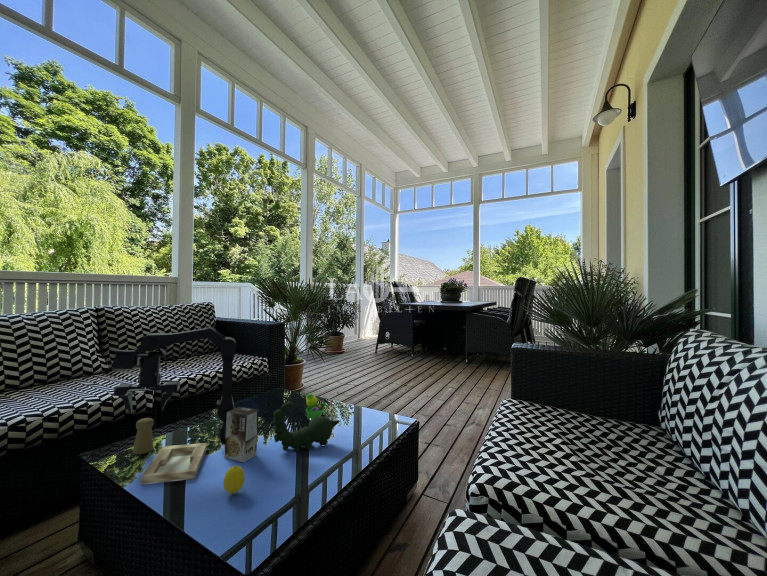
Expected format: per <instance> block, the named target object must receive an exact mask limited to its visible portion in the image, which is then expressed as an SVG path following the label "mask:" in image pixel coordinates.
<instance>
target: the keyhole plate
mask: <svg viewBox="0 0 767 576" xmlns="http://www.w3.org/2000/svg"><path fill="white" fill-rule="evenodd" d="M207 449H208V442H202V443H189V444H187V443H185V444H179V445H178V444H177V445H164V446H162V447H161V448H160V450H159V451H158V453H156V455H155V457H154V458H153V460H152V461H151V462H150V463H149V465H148V467H147V468H146V469H145V471H144V472H143V473H142V475H141V477H140V485H141V486H142V485H151V484H152V485H153V484H160V483H162V484H163V483H169V482H177V481H178V482H179V481H186V480H195V478H196V477H197V474H198V472H199V469H200V467H201V465H202V462H203V460H204V457H205V455H206V452H207Z"/></svg>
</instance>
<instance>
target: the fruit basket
mask: <svg viewBox="0 0 767 576" xmlns="http://www.w3.org/2000/svg"><path fill="white" fill-rule="evenodd" d="M305 399H306V400H305V401H306V402H305V403H306V406H307V407H306V409H305V413H306V417H307V419H308V418H311V419H314V418H316V417H319V416H321V415H322V413H323V414H324V412H325V409H326V405H327V404H326V403H325V402H324V403H323V402H320V403H319V402H318V401H319V400H318V398H317V397H316V396H315V395H314V394H313V393H307V395H306V398H305ZM322 416H323V415H322Z"/></svg>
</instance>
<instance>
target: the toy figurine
mask: <svg viewBox="0 0 767 576" xmlns="http://www.w3.org/2000/svg"><path fill="white" fill-rule="evenodd" d="M280 407H281V408H279V409H276V410H275V411H273V413H272V414H273V424H274V426H273V430H274V431H273V432H274V433H275V434H274V436H273V438H274V442H275V443H278V442H281V443H280V444H281V445H282V449H283V451H288V450H289V448H291V449H294V452H295V451H298V452H300V450H301V448H302V447H305V449H306V450H311V449H312V448H313V443H319V446H321V445H326V444H327V445H328V440H330V439H331V436H332V433H333V429H334V427H336V426H337V425H339V423H340V420H338V419H337V420H332V419H331V420H330V419H329V418H328V417H326V416H323V415H322V416H319V417H316V418H314V419H313V420H312V421H311V420H310V422H309V423H308V426H304V427H302V428H301V429H300V430H295V431H293V432H292V431H290V430H289V429H288V428H287V427H288V425H287V423H286V417H285V416H284V412H286V411H288V410H289V409H291V408H295V409H297V408H298V406H297V404H296V403H294V402H290V401H289V402H285V403H283V404H282V405H281V406H280ZM327 445H326V446H327Z"/></svg>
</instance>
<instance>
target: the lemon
mask: <svg viewBox="0 0 767 576" xmlns="http://www.w3.org/2000/svg"><path fill="white" fill-rule="evenodd" d="M223 477H224V478H223V488H224V490H225V492H226V493H228V494H231V495H235V494H236V493H238V492H239V491H240V490H241V489H242V488H243V486H244V483H245V478H246V477H245V471H244V469H243V468H242V467H241V466H238V465H233V466H231V467H230V468H228V469H227V471H226V472H225V474H224V476H223Z"/></svg>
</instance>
